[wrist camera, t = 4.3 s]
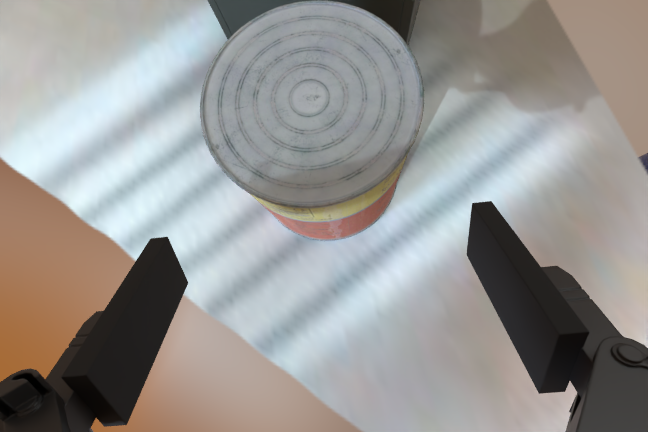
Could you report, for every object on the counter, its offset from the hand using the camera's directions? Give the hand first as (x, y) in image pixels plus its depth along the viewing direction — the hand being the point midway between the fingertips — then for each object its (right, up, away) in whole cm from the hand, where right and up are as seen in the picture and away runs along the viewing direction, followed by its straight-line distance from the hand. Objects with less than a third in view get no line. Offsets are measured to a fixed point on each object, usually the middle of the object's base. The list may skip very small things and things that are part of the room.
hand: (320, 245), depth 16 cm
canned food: (+1, +5, +14) cm, 15 cm away
